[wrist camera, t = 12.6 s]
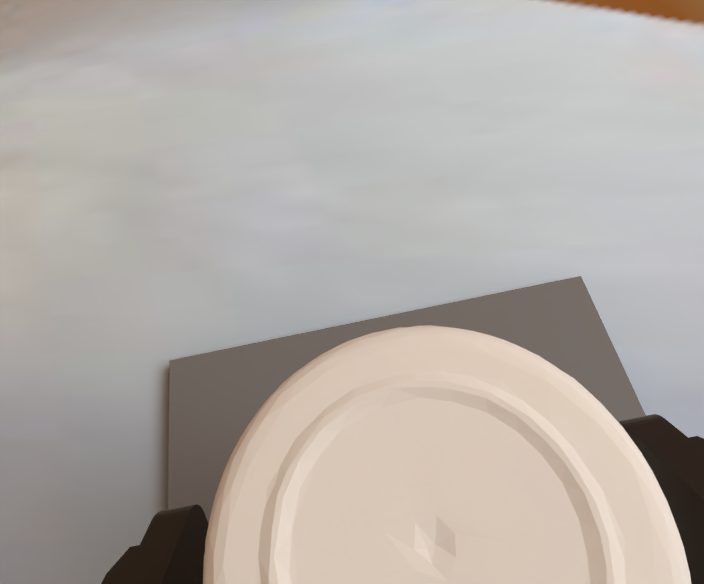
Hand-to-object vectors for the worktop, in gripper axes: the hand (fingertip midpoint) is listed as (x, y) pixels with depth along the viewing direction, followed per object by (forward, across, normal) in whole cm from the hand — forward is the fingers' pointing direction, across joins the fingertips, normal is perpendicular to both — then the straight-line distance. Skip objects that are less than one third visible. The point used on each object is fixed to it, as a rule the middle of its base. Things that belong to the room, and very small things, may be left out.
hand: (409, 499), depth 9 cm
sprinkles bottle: (+6, 0, +6) cm, 9 cm away
